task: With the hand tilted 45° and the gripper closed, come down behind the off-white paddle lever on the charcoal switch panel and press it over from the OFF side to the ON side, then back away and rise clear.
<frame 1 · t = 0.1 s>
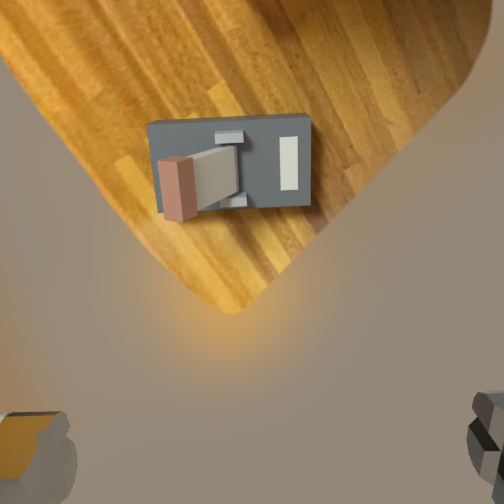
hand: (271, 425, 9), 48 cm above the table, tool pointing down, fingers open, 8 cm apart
switch panel: (232, 158, 54), on the table
lever: (205, 178, 45), point 10 cm above the table, hinge at 30.0°
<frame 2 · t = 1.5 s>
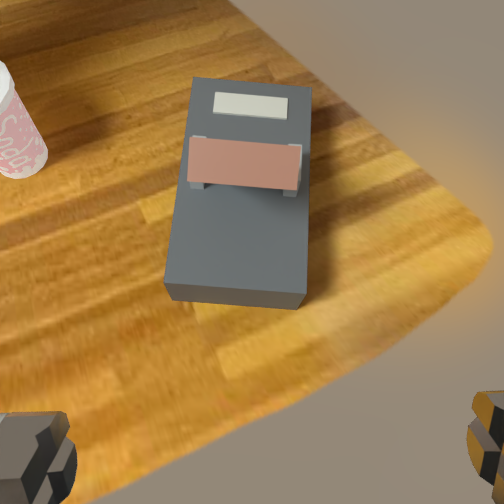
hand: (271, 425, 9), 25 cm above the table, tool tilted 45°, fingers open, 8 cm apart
switch panel: (242, 204, 38), on the table
beverage cup: (22, 157, 39), on the table
lever: (244, 166, 28), point 10 cm above the table, hinge at 30.0°
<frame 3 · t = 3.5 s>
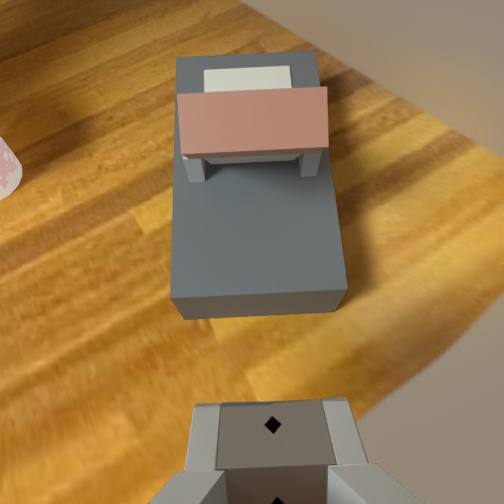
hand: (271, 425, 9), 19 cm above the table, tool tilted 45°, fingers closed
switch panel: (252, 197, 33), on the table
lever: (252, 139, 22), point 10 cm above the table, hinge at 30.0°
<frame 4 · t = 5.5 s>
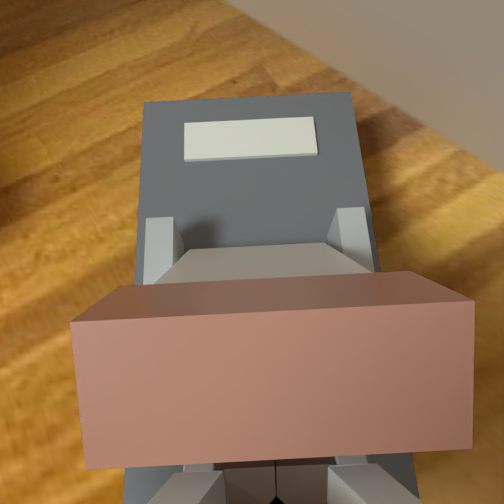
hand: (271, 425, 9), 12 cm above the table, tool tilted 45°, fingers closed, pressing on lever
switch panel: (257, 305, 22), on the table
lever: (262, 294, 12), point 10 cm above the table, hinge at 29.2°, touching gripper
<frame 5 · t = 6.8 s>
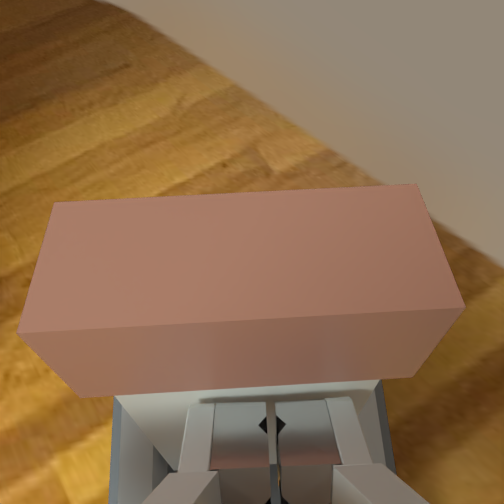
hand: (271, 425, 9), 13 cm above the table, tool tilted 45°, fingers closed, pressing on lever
switch panel: (251, 436, 20), on the table
lever: (248, 391, 11), point 11 cm above the table, hinge at -15.8°, touching gripper
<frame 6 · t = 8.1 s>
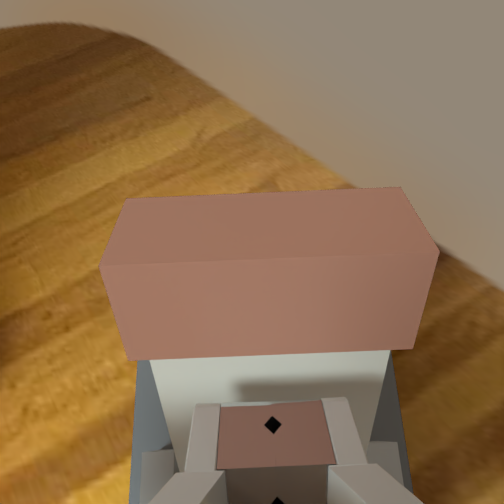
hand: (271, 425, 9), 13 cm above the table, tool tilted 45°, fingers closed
switch panel: (268, 478, 20), on the table
lever: (269, 405, 12), point 10 cm above the table, hinge at -30.5°
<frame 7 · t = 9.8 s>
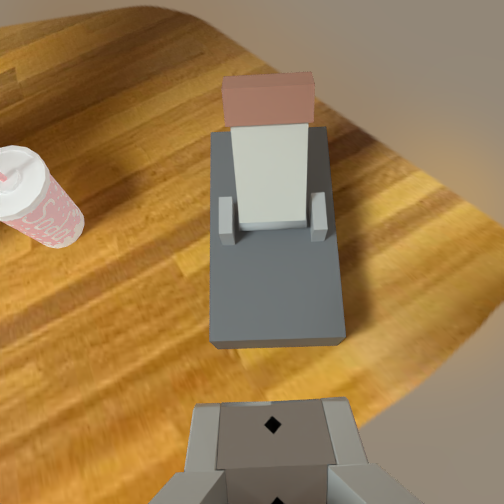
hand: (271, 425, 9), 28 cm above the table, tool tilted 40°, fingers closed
switch panel: (272, 246, 40), on the table
beverage cup: (61, 226, 42), on the table
lever: (270, 162, 31), point 10 cm above the table, hinge at -30.5°
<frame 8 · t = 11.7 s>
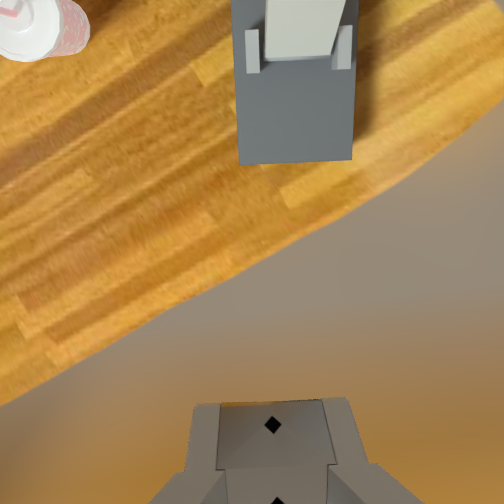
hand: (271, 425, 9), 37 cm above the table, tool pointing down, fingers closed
switch panel: (289, 53, 40), on the table
beverage cup: (65, 26, 39), on the table
lever: (303, 5, 30), point 10 cm above the table, hinge at -30.5°
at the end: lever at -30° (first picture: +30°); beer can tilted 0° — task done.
